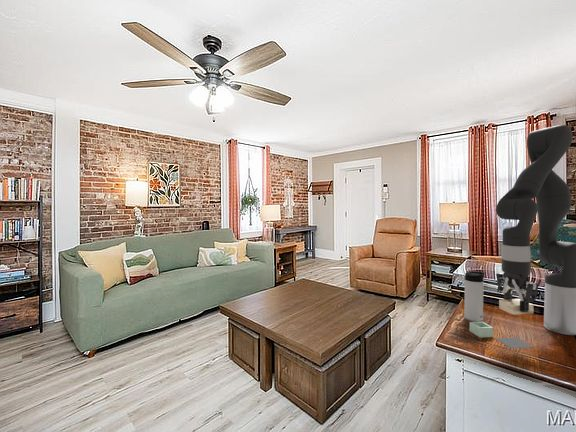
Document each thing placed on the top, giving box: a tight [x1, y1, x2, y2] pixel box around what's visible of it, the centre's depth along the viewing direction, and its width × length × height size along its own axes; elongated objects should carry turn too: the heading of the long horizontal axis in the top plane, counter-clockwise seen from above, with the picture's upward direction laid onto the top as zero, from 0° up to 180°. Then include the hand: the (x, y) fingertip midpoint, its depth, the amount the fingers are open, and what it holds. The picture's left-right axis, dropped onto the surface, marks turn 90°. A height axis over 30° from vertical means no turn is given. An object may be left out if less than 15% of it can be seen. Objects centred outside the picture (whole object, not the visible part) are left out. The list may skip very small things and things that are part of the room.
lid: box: [498, 298, 535, 316], centre depth 92 cm, size 7×6×3 cm
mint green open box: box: [469, 321, 494, 339], centre depth 99 cm, size 5×5×4 cm
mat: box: [494, 337, 534, 349], centre depth 93 cm, size 8×6×1 cm
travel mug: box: [463, 271, 485, 322], centre depth 111 cm, size 6×7×20 cm
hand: (515, 307), depth 92 cm, fingers closed on lid, 5 cm apart
